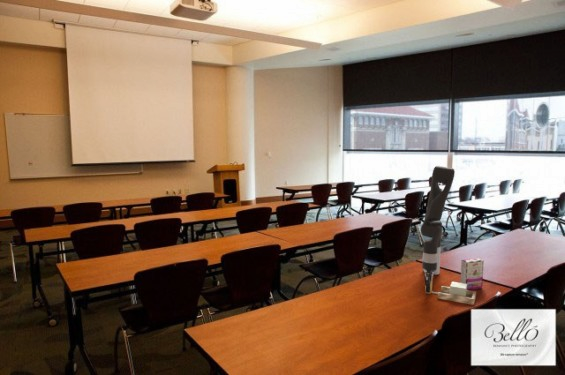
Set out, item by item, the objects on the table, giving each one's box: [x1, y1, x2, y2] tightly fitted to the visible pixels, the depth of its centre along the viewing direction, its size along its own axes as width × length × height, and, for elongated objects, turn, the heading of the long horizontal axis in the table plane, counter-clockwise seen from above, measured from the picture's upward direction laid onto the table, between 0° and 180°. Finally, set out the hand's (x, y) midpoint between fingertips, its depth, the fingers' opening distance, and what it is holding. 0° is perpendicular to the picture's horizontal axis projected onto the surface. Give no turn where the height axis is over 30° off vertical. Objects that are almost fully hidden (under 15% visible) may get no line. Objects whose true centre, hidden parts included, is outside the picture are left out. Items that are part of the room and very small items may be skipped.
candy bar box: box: [460, 257, 485, 291], centre depth 228 cm, size 11×5×16 cm, turn 105°
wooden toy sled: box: [437, 285, 477, 306], centre depth 216 cm, size 17×11×3 cm, turn 60°
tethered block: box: [424, 281, 468, 297], centre depth 218 cm, size 20×8×7 cm, turn 61°
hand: (428, 290), depth 223 cm, fingers closed on tethered block, 3 cm apart
